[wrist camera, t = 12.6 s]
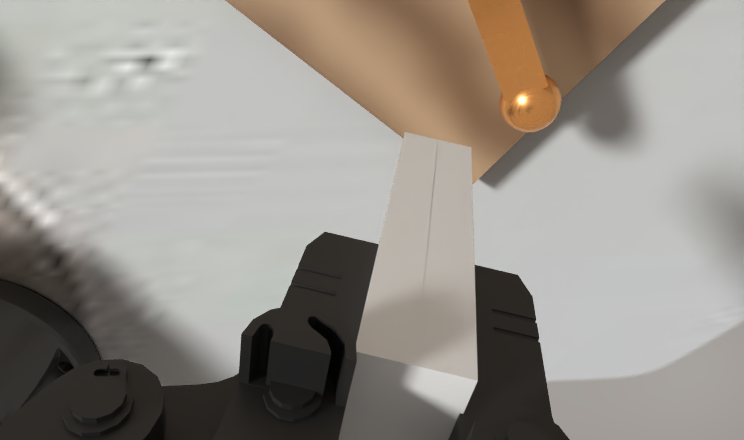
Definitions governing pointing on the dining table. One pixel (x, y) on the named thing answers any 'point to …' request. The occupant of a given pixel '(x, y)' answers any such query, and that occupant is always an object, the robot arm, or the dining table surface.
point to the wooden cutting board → (441, 58)
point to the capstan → (516, 65)
